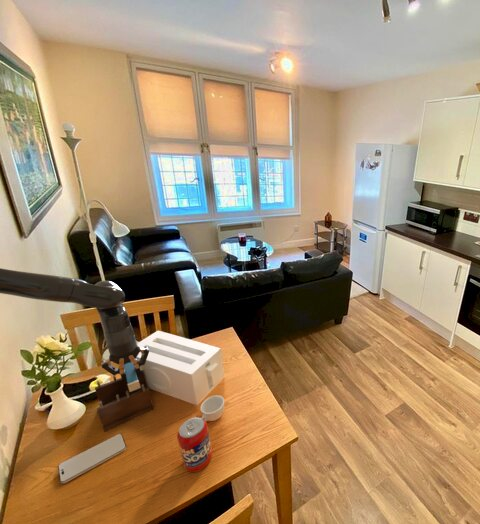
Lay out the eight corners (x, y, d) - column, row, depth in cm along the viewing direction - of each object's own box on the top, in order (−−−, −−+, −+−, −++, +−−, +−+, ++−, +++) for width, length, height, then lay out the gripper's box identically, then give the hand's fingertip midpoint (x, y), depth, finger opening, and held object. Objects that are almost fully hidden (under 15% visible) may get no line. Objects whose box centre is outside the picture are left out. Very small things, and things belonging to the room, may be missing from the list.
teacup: (213, 403, 108) (211, 392, 106) (230, 409, 106) (229, 399, 104) (192, 425, 99) (190, 414, 97) (210, 433, 97) (208, 422, 95)
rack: (104, 432, 95) (95, 407, 91) (101, 404, 105) (93, 381, 100) (154, 409, 104) (147, 386, 100) (147, 386, 113) (141, 363, 109)
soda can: (205, 443, 94) (199, 410, 88) (217, 459, 89) (211, 425, 84) (179, 461, 88) (171, 427, 82) (191, 479, 84) (183, 445, 78)
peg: (129, 392, 96) (127, 385, 95) (124, 368, 106) (122, 362, 105) (140, 387, 98) (138, 381, 97) (134, 364, 108) (132, 358, 106)
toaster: (130, 384, 114) (120, 353, 108) (164, 358, 128) (158, 330, 123) (202, 410, 106) (196, 378, 100) (230, 379, 120) (227, 350, 114)
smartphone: (126, 447, 90) (60, 483, 79) (127, 450, 90) (61, 486, 80) (121, 432, 95) (57, 464, 84) (121, 434, 95) (58, 466, 84)
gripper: (143, 325, 102) (153, 363, 109) (92, 340, 93) (106, 380, 100) (147, 335, 97) (157, 374, 104) (93, 352, 88) (107, 394, 95)
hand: (132, 377), depth 102 cm, fingers closed on peg, 2 cm apart
